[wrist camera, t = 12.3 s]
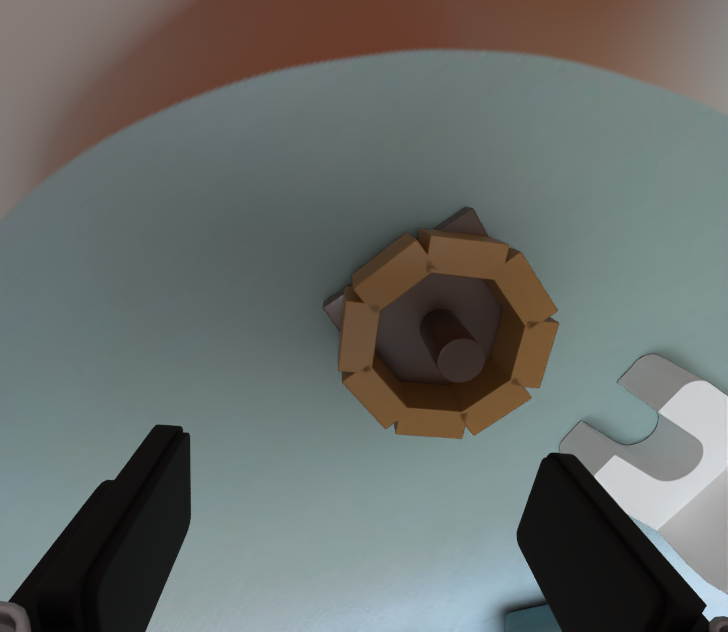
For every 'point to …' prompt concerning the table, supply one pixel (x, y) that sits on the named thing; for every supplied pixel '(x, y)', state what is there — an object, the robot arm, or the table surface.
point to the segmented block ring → (500, 372)
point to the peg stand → (436, 322)
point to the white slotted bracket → (670, 464)
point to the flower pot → (532, 620)
